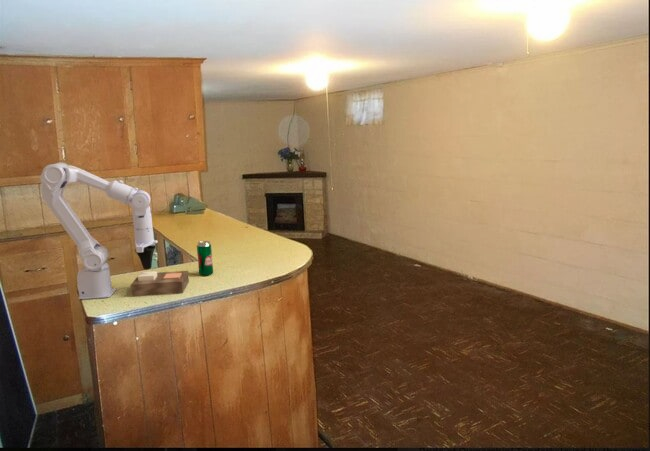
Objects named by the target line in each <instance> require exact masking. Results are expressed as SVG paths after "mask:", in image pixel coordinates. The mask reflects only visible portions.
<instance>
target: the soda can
mask: <svg viewBox="0 0 650 451" xmlns="http://www.w3.org/2000/svg"><path fill="white" fill-rule="evenodd" d="M212 251H213V250H212V244H211V241H209V240H200V241H198V242H197V245H196V252H197V253H196V254H197V264H198V274H199V275H200V276H201V277H202V276H203V277H207V276H212V275H213V274H214V265H213V252H212Z"/></svg>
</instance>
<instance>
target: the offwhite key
mask: <svg viewBox="0 0 650 451" xmlns="http://www.w3.org/2000/svg"><path fill="white" fill-rule="evenodd" d="M157 273H158V271H157V270H156V271H155V270H154V271H141V272H140V273H139V274H140V275H137V277H138V281H150V280H155V279H156V278H157Z"/></svg>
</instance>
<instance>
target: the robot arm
mask: <svg viewBox="0 0 650 451" xmlns="http://www.w3.org/2000/svg"><path fill="white" fill-rule="evenodd" d="M39 180H40V181H41V194H42V196H41V197H42V199H43V201H44V202H45V204H46V205H47V207H48V208H49V209H50V211H51V212H52V214H53V215H54V216H55V218H56V219H57V221H58V222H59V224H61V225H62V228H63V229H64V231H65V232H66V233H67V234H68V236H69V237H70V238H71V240H72V241H73V243H74V244H75V246H76V247H77V251H78V255H79V256H80V258H81V263H82V265H83V267H84V268H83V269H79V270H78V272H77V275H76V282H77V289H78V290H77V291H78V300H88V299H89V300H90V299H103V298H105V299H106V298H110V297H111V296H112V295H113V294H114V293H115V292H116V290H117V288H112V279H111V272H110V264H109V263H108V262H107V260H108V259H109V256H110V254H109V250H108V249H107V248H106V247H105V246H103V245H101V244H100V243H99V242H98V240H96V239H95V238H94V237H93V236H92V235H91V234H90V232H89V230H87V228H86V226H85V225H84V224H83V222H82V221H81V220H80V218H79V216H78V215H77V214H76V212H75V211H74V210H73V208H72V207H71V205H70V204H69V203H68V201H67V199H66V198H65V197H64V192H65V189H66V185H68V184H69V183H77V182H78V183H82V184H85V185H87V186H90V187H92V188H95V189H98V190H101V191H104V192H105V194H106V196H107V197H108V198H110V199H112V200H115V201H118V202H119V203H123V204H125V205H127V206H128V205H129V206H130V207H131V208H132V221H133V222H132V223H133V233H134V240H135V241H134V245H135V248H134V250H135V253H136V255H137V256H138V258H139V259H140V263H141V265H142V267H143V270H151V269H152V265H153V256H154V252H155V250H156V245H155V244H157V243H159V242H158V240H157V239H154V238H155V236H154V229H153V228H154V227H153V226H154V225H153V219H152V218H153V217H152V211H151V210H152V209H151V206H150V205H151V204H150V203H151V200H152V199H151V195H150V194H149V193H148V192H146V191H145V190H144V189H139V187H133V186H130V185H128V184H125V181H124V180H121V179H120V180H113V181H109V180H107V179H104V178H101V177H100V176H97V175H95V174H93V173H90V172H89V171H86V170H84V169H82V168H80V167H77V166H74V165H69V164H67V163H66V162H59V161H58V162H56V163H53V164H52V163H51V164H47V165H46V166H44V168H43V169H42V171H41V174H40V176H39Z"/></svg>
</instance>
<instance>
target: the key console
mask: <svg viewBox="0 0 650 451" xmlns="http://www.w3.org/2000/svg"><path fill="white" fill-rule="evenodd" d="M172 273H182V276H181V277H180V279H166V280H163V278H164V277H165V275H166V274H172ZM139 275H140V273H139ZM139 275H138V276H139ZM138 276H137V277H135V279H134V280H133V281H132V282H131V283H130V290H131V297H145V296H160V295H161V296H162V295H175V294H176V295H178V294H183V293H184V292H185V291H186V289H187V287H188V284H189V281H190V280H189V278H190V277H189V271H188V270H180V271H179V270H178V271H164V272H163V271H162V272H160V271H159V272H157V278H156V279H155V280H150V281H138Z"/></svg>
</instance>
